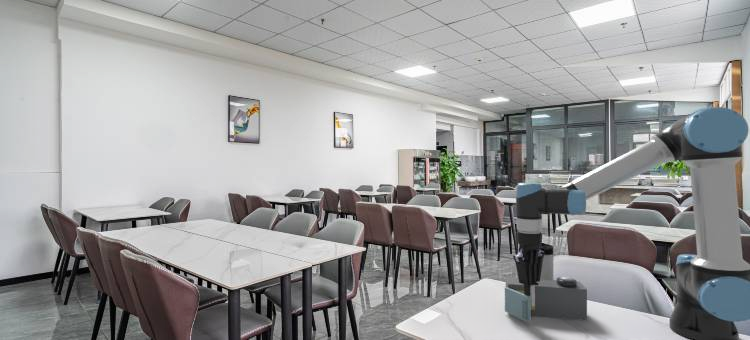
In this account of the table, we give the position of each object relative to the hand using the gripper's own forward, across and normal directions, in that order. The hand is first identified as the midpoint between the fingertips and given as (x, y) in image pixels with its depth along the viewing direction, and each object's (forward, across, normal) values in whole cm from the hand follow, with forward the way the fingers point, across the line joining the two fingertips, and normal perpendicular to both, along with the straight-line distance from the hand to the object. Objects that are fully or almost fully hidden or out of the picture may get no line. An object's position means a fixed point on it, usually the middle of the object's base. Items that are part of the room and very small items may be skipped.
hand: (529, 304), depth 115 cm
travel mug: (+6, -24, -12) cm, 28 cm away
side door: (+5, +2, -3) cm, 6 cm away
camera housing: (+6, -11, -2) cm, 13 cm away
